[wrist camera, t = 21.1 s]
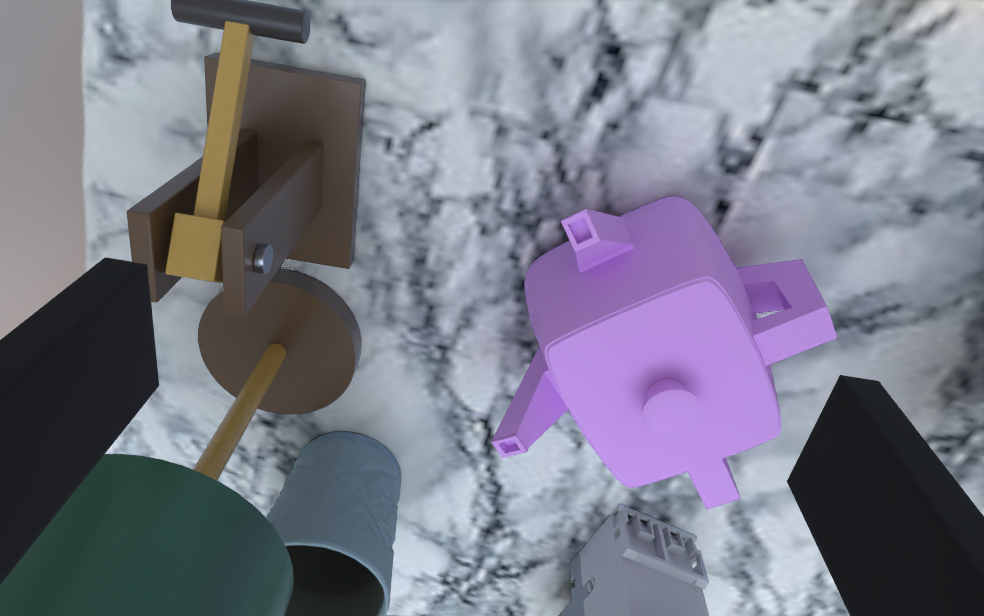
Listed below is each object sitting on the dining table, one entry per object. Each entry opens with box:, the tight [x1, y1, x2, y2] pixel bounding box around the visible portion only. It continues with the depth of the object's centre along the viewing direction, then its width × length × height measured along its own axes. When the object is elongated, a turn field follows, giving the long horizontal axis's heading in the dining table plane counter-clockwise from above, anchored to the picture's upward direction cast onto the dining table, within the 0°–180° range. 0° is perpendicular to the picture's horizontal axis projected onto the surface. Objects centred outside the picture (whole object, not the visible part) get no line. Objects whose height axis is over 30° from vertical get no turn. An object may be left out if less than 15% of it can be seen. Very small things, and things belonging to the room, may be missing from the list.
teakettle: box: [492, 196, 837, 509], centre depth 42 cm, size 17×17×12 cm
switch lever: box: [165, 0, 310, 283], centre depth 32 cm, size 13×6×2 cm, turn 170°
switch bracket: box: [127, 54, 366, 316], centre depth 37 cm, size 12×9×15 cm
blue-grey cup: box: [266, 431, 401, 616], centre depth 50 cm, size 10×10×12 cm
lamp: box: [0, 269, 361, 616], centre depth 37 cm, size 13×13×28 cm
